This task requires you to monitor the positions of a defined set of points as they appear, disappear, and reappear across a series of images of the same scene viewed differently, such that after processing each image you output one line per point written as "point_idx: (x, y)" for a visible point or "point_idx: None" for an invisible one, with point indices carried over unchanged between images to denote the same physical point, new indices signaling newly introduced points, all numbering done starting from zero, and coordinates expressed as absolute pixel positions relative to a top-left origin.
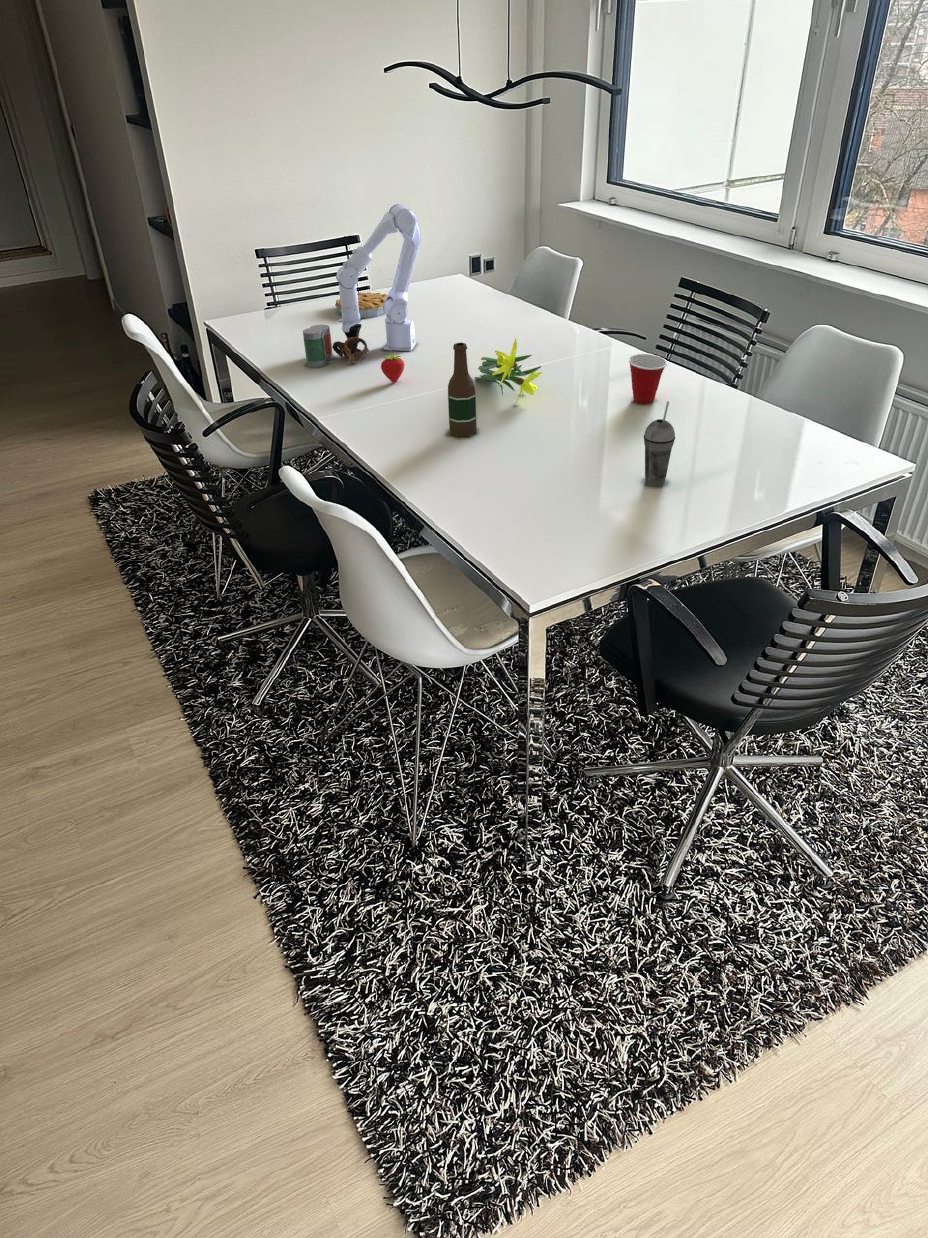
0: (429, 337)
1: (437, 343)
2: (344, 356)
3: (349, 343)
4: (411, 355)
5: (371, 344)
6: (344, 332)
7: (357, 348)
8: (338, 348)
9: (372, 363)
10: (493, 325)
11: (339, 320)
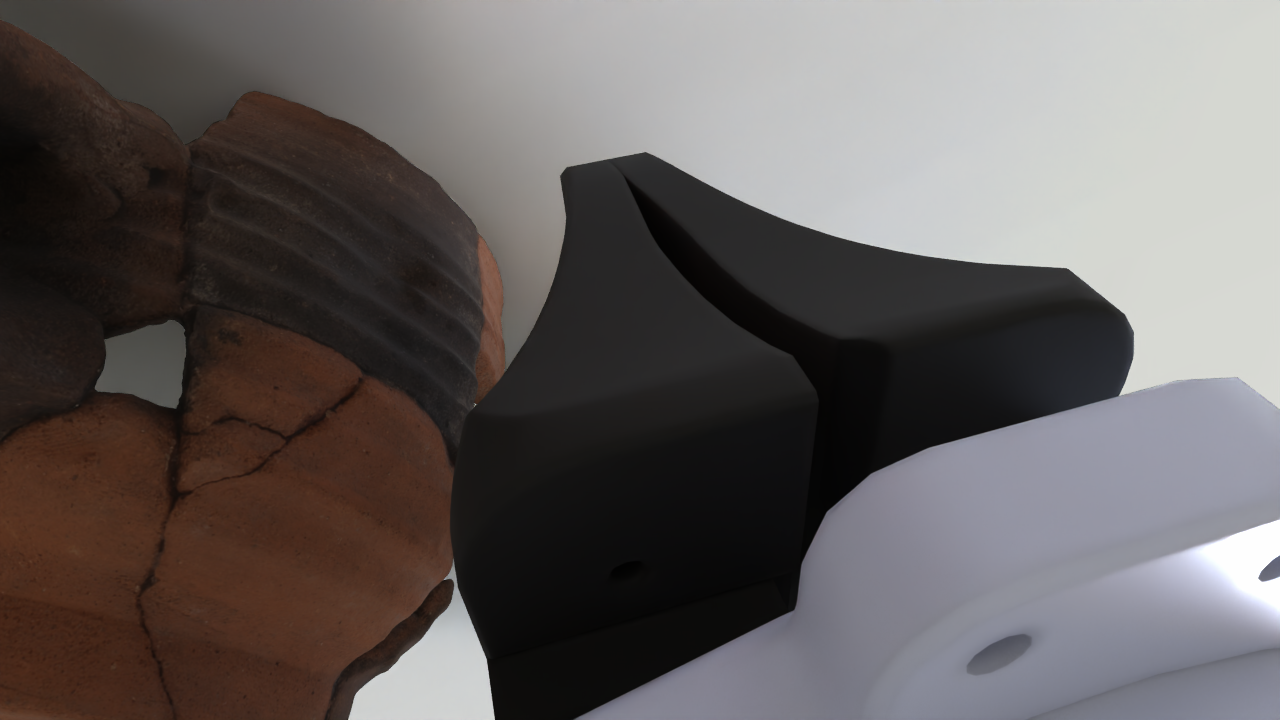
0: None
1: None
2: (236, 108)
3: (302, 406)
4: None
5: (1019, 224)
6: (496, 391)
7: (476, 373)
8: (2, 121)
9: None
10: None
11: (865, 662)
